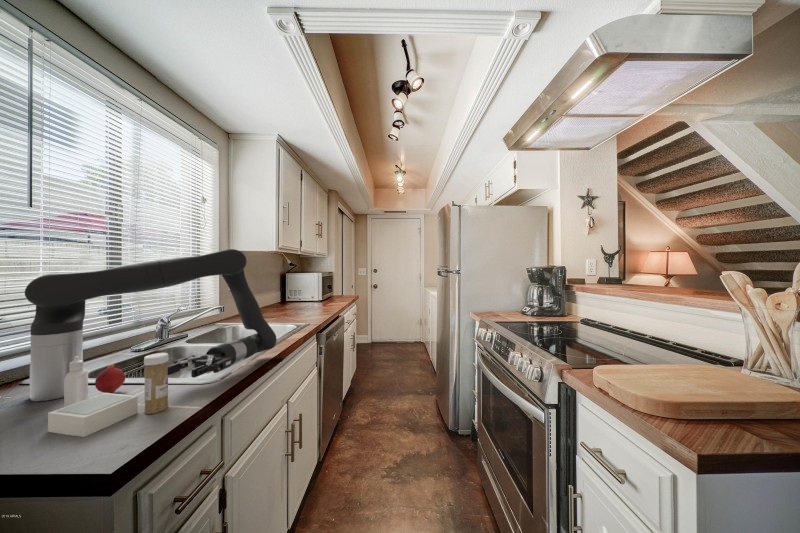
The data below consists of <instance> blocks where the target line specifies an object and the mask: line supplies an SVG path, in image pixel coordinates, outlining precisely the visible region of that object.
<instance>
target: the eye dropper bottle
mask: <svg viewBox="0 0 800 533" xmlns="http://www.w3.org/2000/svg"><path fill="white" fill-rule="evenodd" d="M69 371H70V372H69V373H68V374H67V375H66V376H65V379H64V397H63V398H64V399H63V407H66V406H69V405H72V404H75V403H78V402H80V401H83V400H86V399H89V371H88V369H85V368H84V359H83V360H80V359H79V356H75V357H74V360H73V361H72V362H70V363H69Z"/></svg>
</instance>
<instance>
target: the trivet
mask: <svg viewBox="0 0 800 533" xmlns="http://www.w3.org/2000/svg"><path fill="white" fill-rule="evenodd" d="M138 398H139V397H138V395H130V394H120V393H103V392H102V393H101V394H97V395H95V396H91V397H88V399H86V400H83V401H80V402H78V403H75V404H72V405H69V406H66V407H64V406H63V407H61V408H58V409H56V410H53V411H49V412H48V413H47V432H48V433H53V434H59V435H67V436H75V437H79V438H80V437H82V438H86V437H87V436H89V435H92V434H93V433H94V434H95V433H96V432H98V431H99V432H100V431H101V430H103V429H105V428H107V427H110V426H112V425H113V424H114V425H115V424H116V423H118V422H120V421H123V420H125V419H128V418H129V417H132V416H134V415H136V414H138V412H139V411H138V410H139V408H138V407H139V404H138V403H139V399H138Z"/></svg>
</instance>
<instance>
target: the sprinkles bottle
mask: <svg viewBox="0 0 800 533" xmlns="http://www.w3.org/2000/svg"><path fill="white" fill-rule="evenodd" d="M168 363H169V353H168V352H156V353H152V354H148V355H146V356H144V358H143V365H144V413H145V414H146V415H152V414H158V413H160V412H163V411H165V410H166V409H168V408H169V403H168V402H169V401H168V399H169V396H168V395H169V375H168V366H169V365H168Z"/></svg>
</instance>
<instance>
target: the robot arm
mask: <svg viewBox="0 0 800 533" xmlns="http://www.w3.org/2000/svg"><path fill="white" fill-rule="evenodd" d="M247 263H248V262H247V257H246V255H245V254H244V253H243V251H241V250H239V249H234V248H228V249H223V250H220V251H216V252H210V253H205V254H202V255H193V256H179V257H168V258H159V259H158V258H157V259H152V260H144V261H139V262H133V263H128V264H122V265H119V266H114V267H110V268H106V269H101V270H93V271H85V272H84V271H83V272H72V273H71V272H70V273H69V272H68V273H48V274H43V275H41V276H39V277H36V278H34V279H33V280H32V281H30V282H29V283H28V284H27V285H26V288H25V289H24V296H25V299H26V300H27V301H28V302H29V303H31V304H33V305H35V315H34V319H33V321H32V323H31V324H30V363H29V398H30V400H29V401H32V402H45V401H52V400H56V399H61V398H64V379H65V376H66V375H67V374H68V373H69V372H70V371H69V363H70V362H72V361H73V360H74V357H75V356H79V359H80V360H83V361H84V358H83V357H84V354H83V353H84V352H83V348H84V346H83V344H84V340H83V339H84V338H83V336H84V334H83V332H84V331H83V328H84V320H85V316H86V300H92V299H95V298H99V297H105V296H112V295H121V294H123V295H124V294H132V293H140V292H146V291H153V290H160V289H165V288H170V287H174V286H178V285H181V284H184V283H187V282H188V283H189V282H191V281H194V280H196V279H200V278H204V277H205V278H207V277H212V276H213V277H214V276H221V277H222V278H223V280H224V281H225V283H226V285H227V286H228V289H229V291H230V293H231V296H232V298H233V301H234V303H235V307H236V309H237V311H238V315H239V317H240V320H241V322H242V325H243V327H244V328H245V330H253V331H255V332H256V333H253V334H250V335H248V336H246V337H242V338H239V339H236V340H231V341H227V342H224V343H221V344H217V345H215V346H211V347H210V348H209V349H208V350H207V352H206V353H205V354H200V355H198V356H196V355H195V354H192V355H189V356H186V357H183V358H179V359H176V360H174V362H173V363H174V364H170V365H168V376H170V375H172V374H175V373H178V372H181V371H190V374H191V378H198V377H199V376H203V375H204V374H211V373H212V372H213V373H214V374H216V373H219V372H222V371H223V370H226V369H228V368H230V367H231V366H234V365H236V364H238V363H240V362H241V361H244V360H246V359H248V358H250V357H252V356H253V355H255V354H257V353H261V352H265V351H268V350H271V349H274V348H275V346H276V345H277V341H278V340H277V335H276V333H275V331H274V330H273V329H272V327H271V326H270V325H269V323H268V321H267V320H265V318H264V315H263V313H262V311H261V308H260V304H259V303H258V301H257V298H256V297H255V296H254V294H253V292H252V290H251V288H250V286H249V284H248V281H247V278H246V274H245V267H246V266H247Z"/></svg>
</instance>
